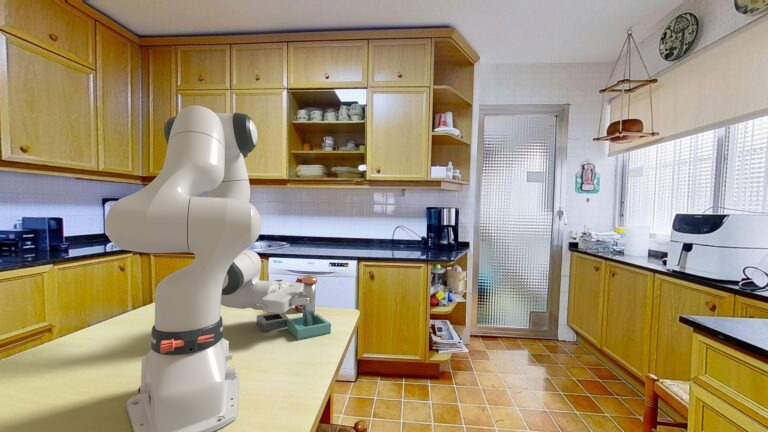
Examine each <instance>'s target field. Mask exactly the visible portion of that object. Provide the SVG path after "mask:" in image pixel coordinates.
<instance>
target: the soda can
mask: <svg viewBox="0 0 768 432" xmlns="http://www.w3.org/2000/svg"><path fill="white" fill-rule="evenodd" d="M303 277H314V276H312V275H298V276H296V280H295V282H297V283H302V278H303ZM294 309H295V311H298V312H301V313H303V304H302V305H294Z"/></svg>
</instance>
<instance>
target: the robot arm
mask: <svg viewBox="0 0 768 432" xmlns="http://www.w3.org/2000/svg"><path fill="white" fill-rule="evenodd" d="M163 134H164V138H165V139H164V140H165V142H166V144H167V147H166V148H167V150H166V155H165V159H164V162H163V166H162V169H161V170H160V172H159V173H158V175H157V176H156V177H155V178H154V179H152V181H150V183H148V184H147V185H146V186H144V187H143V188H141V189H139V190H138V191H136V192H134V193H132V194H129V195H127V196H124V197H121V198H119V199H118V200H117V201H115V203H113V205H111V207H110V208H109V209H108V211H107V214H106V216H105V218H104V219H105V220H104V228H105V232H106V233H105V234H106V235H107V237H108V239H109V241H110V242H111V243H112V244H113V245H114V246H115V247H117V248H118V249H120V250H124V251H131V252H137V253H145V254H146V253H147V254H169V253H191V254H194V260H193V261H192V263H190V264H189V265H187V266H185V267H183V268H180V269H179V270H176V271H173V272H172V273H170V274H168V275H167V276H166V277H164V278H163V279H162V280H160V282H159V283H158V285H156V288H155V292H154V324H153V325H152V327H151V333H150V340H151V344H150V346H151V348H150V350H149V351H147V353H146V354H145V355H144V356H142V357H141V369H140V370H141V373H140V375H141V376H140V385H139V386H138V388H137V390H138V391H137V393H138V394H136V395H134V396H132V397H130V398H129V399H128V400H127V401H126V405H125V407H126V412H127V414H128V418H129V421H130V424H131V425H130V426H131V427H132V428H131V429H132V431H133V432H216V431H218V430H219V429H222V428H223V427H225V426H227V425H229V424H230V423H232V422H233V421H234V420H236V418H237V416H238V410H239V409H238V407H239V406H238V405H239V390H240V389H239V388H240V375H239V373H238V372H236V366H235V365H233V366H229V361H232V359H233V352H229V351H230V350H229V348H230V347H229V344H230V342H229V341H228V340H227V339H225V338H223V334H224V333H223V332H224V322H223V317H222V316H221V306H223V307H226V308H231V309H232V308H233V309H242V310H244V309H252V310H254V311H255V310H256V311H262V312H266V313H269V314H270V313H284V314H285V313H286V312H287V311H289V309H291V308H292V307H293V306H295V305H302V304H306V305H307V304H309V303H310V298H309V297H304V298H303V289H304V283H297V282H296V281H286V280H285V279H277V280H260V279H261V275H262V269H263V268H262V267H263V266H262V265H263V264H262V263H263V262H262V259H261V257H260V255H259V254H258V253H257V252H255V251H254V250H252V249H249V248H250V247H251V246H253V245H254V244H255V242H256V241H257V239H258V238H259V237H260V233H261V230H262V219H261V216H260V213H259V212H258V209H257V208H256V206H254V204H252V203H251V202H250V199H251V186H250V185H251V184H250V179H249V174H248V169H247V166H246V161H245V159H246V158H248V154H250V153H252V152H253V151H254V150H255V148H256V147H257V142H258V138H259V137H258V130H257V127H256V124H255V123H254V121H253V119H252V117H250V116H249V114H247V113H241V112H233V113H228V112H226V113H225V112H215V111H213V110H212V109H209V108H208V107H205V106H203V105H189V106H186V107H184V108H182V109H181V110H180V111H179V112H178V113H177V115H175V116H172V117H169V118H168V119H167V121H166V122H165V123H164V126H163ZM244 158H245V159H244ZM205 194H208V196H202V195H205Z"/></svg>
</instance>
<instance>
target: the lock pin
mask: <svg viewBox="0 0 768 432" xmlns="http://www.w3.org/2000/svg"><path fill="white" fill-rule="evenodd" d="M302 283H304V289H303V298H304V297H309V298H310V303H309V304H307V305H306V304H303V312H302V316H303V322H302V325H303V326H306V327H309V326H313V325H314V324H315V314H316V295H317V294H316V291H317V289H316V287H317V283H318V277H317V276H313V277H303V278H302Z"/></svg>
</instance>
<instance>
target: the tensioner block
mask: <svg viewBox="0 0 768 432" xmlns="http://www.w3.org/2000/svg"><path fill="white" fill-rule="evenodd" d="M287 319H290V318H289V317H288V316H287V315H286V314H285V313H270V312H269V313H264V314H259V315H258V314H257V315H256V322H255V323H257V324H256V325H257V326H258V328H259V330H261V332H262V333H264V332H270V331H275V329H276V330H279V329H280V328H281V329H285V328H286V329H287Z"/></svg>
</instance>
